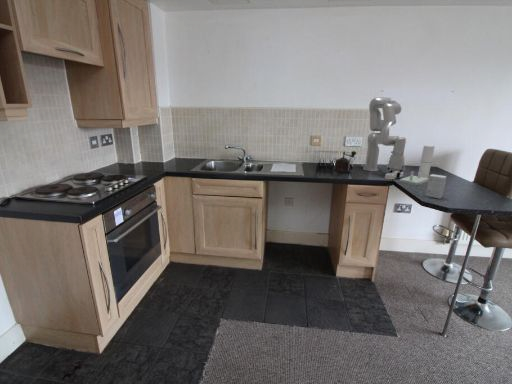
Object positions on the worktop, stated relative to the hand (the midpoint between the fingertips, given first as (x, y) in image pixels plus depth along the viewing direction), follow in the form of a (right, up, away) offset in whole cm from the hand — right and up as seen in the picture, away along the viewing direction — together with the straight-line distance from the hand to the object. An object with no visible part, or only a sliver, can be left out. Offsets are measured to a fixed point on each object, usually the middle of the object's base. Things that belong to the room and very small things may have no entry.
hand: (394, 176), depth 220 cm
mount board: (+10, -4, -11) cm, 15 cm away
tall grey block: (+24, -1, +2) cm, 24 cm away
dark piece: (-32, +5, +19) cm, 38 cm away
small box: (+2, -15, -46) cm, 49 cm away
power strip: (0, -1, 0) cm, 1 cm away
